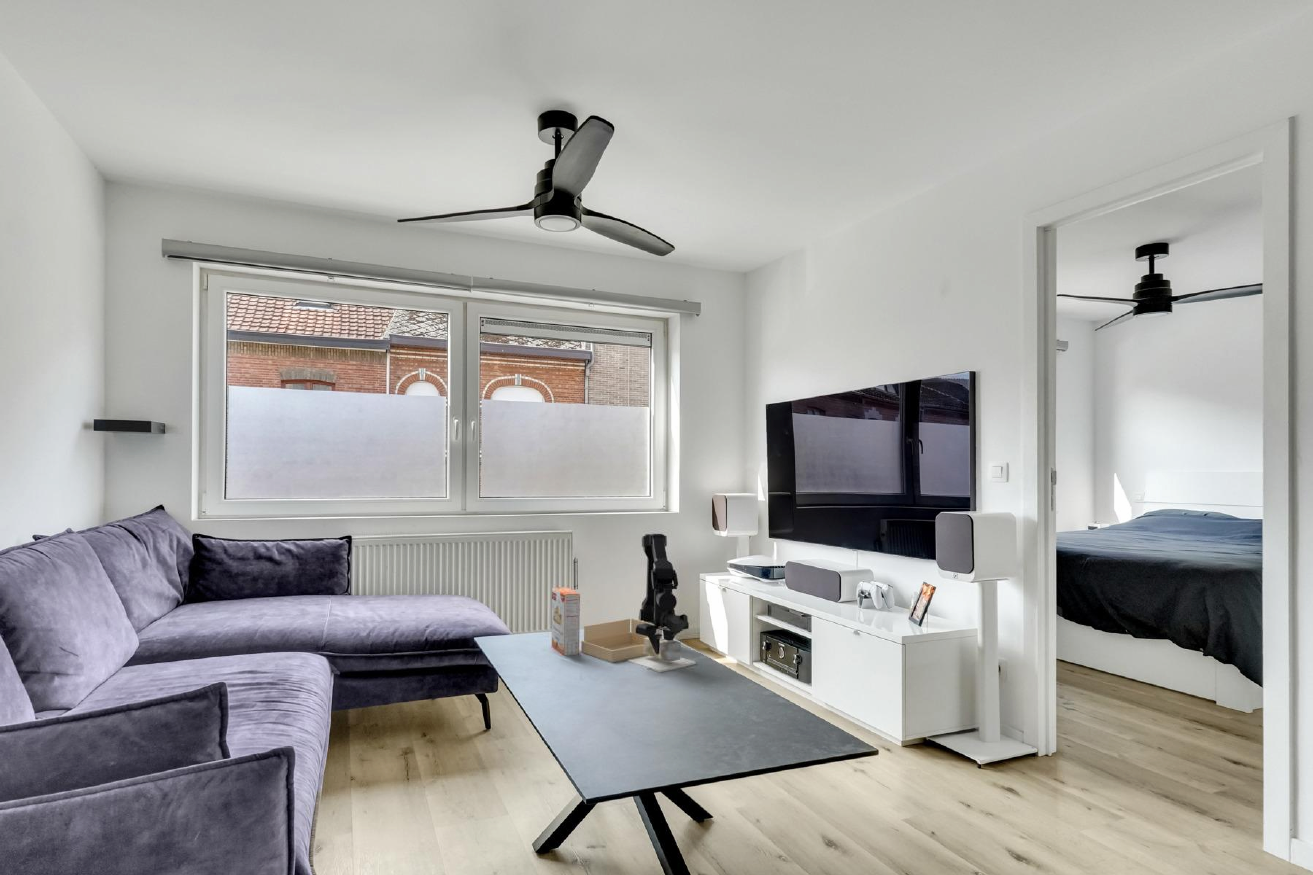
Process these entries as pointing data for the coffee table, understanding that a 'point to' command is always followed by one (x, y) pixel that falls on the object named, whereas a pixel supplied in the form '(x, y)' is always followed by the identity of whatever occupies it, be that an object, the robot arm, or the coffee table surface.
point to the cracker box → (565, 620)
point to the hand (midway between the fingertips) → (662, 653)
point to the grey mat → (661, 663)
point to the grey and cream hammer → (664, 649)
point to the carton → (614, 640)
